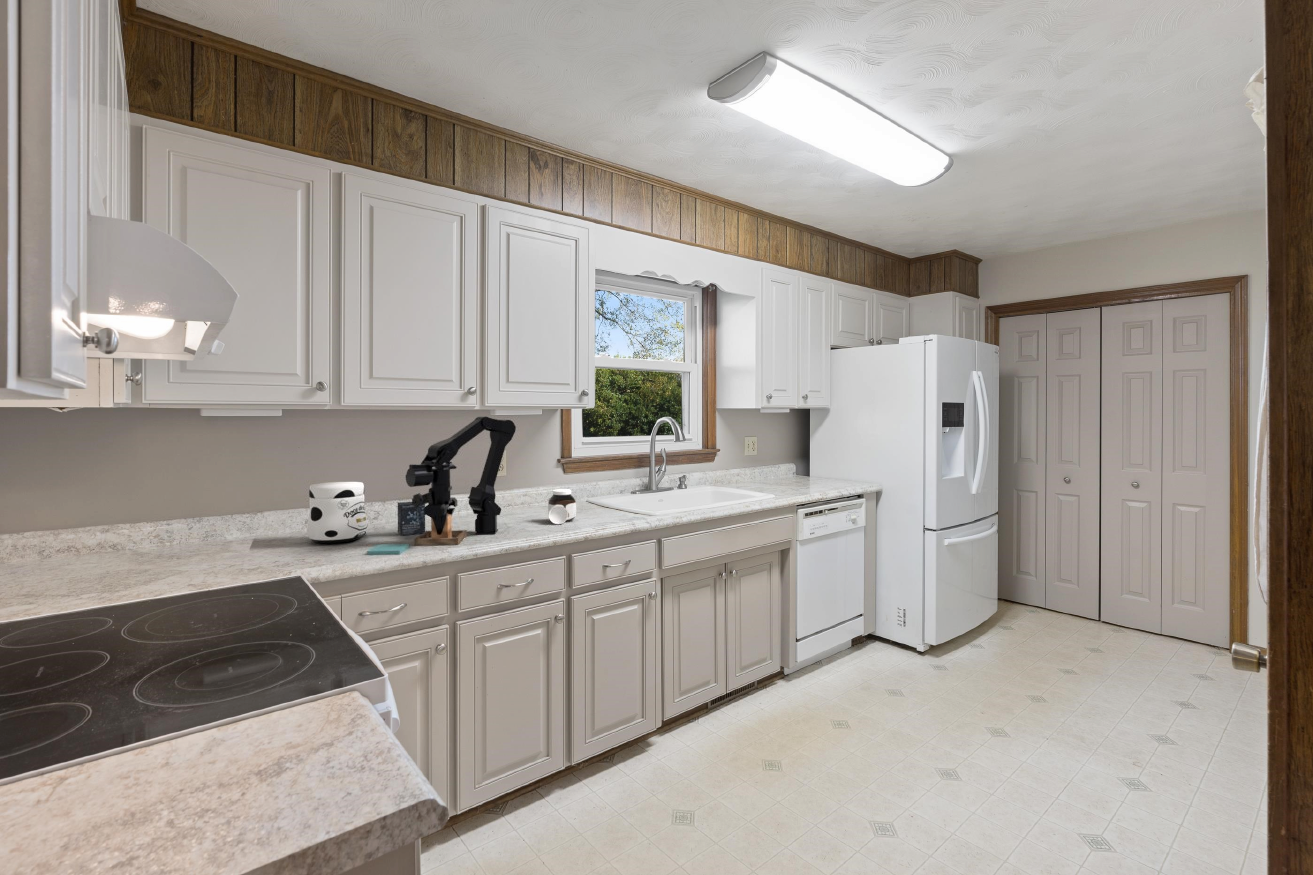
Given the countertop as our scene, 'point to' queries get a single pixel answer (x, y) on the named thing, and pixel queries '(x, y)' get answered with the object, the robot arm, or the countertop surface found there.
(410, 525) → the box
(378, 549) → the plate
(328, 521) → the milk container
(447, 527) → the block
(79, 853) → the countertop surface
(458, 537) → the pocket frame
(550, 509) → the spread jar
